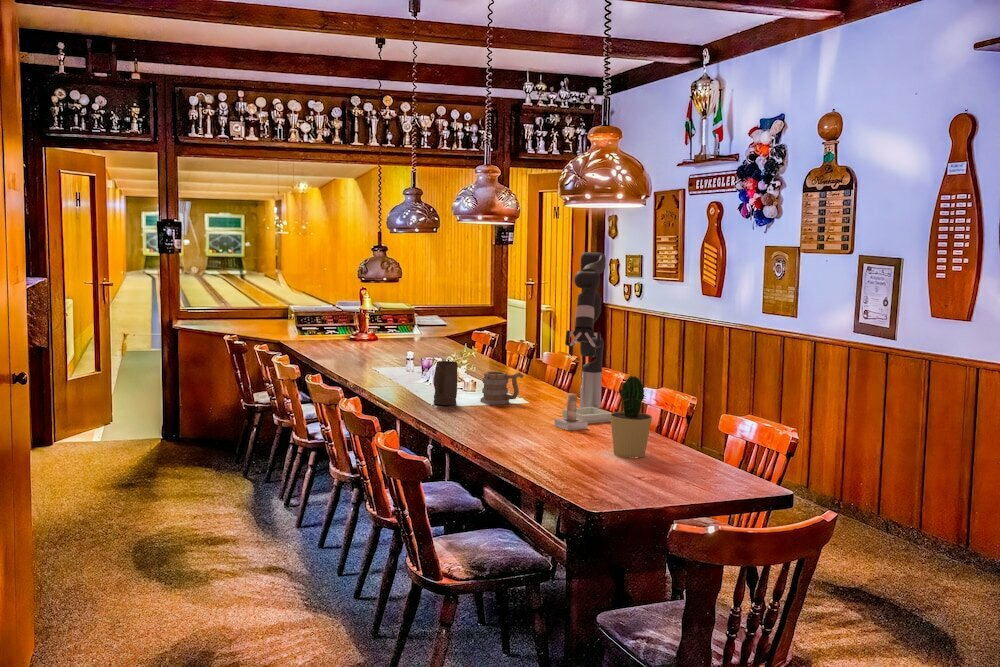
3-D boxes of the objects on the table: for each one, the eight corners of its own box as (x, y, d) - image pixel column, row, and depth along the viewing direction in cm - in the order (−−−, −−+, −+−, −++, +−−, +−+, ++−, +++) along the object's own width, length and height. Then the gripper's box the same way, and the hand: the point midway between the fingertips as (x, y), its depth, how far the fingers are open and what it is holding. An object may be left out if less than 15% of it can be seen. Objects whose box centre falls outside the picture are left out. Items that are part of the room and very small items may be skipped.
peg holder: (554, 425, 393) (554, 418, 392) (574, 424, 398) (574, 417, 397) (567, 430, 384) (567, 423, 384) (587, 428, 389) (587, 421, 389)
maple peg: (564, 426, 392) (565, 393, 390) (572, 426, 394) (573, 393, 392) (569, 428, 388) (570, 395, 387) (577, 427, 390) (578, 394, 389)
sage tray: (562, 416, 413) (562, 409, 412) (592, 414, 420) (592, 406, 420) (583, 423, 399) (583, 415, 398) (613, 421, 407) (613, 413, 406)
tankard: (478, 403, 440) (478, 371, 438) (486, 398, 452) (487, 368, 450) (518, 406, 434) (519, 374, 433) (525, 402, 446) (526, 371, 445)
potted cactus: (601, 451, 350) (604, 372, 346) (637, 448, 355) (641, 371, 352) (620, 460, 335) (624, 378, 332) (657, 458, 341) (662, 377, 337)
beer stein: (439, 401, 441) (440, 359, 439) (460, 403, 438) (461, 361, 436) (426, 406, 427) (427, 363, 425) (447, 408, 423) (449, 365, 421)
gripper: (602, 321, 384) (600, 359, 380) (568, 319, 387) (565, 357, 383) (601, 316, 377) (599, 355, 373) (566, 314, 380) (563, 353, 376)
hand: (582, 356), depth 378 cm, fingers open, 8 cm apart
